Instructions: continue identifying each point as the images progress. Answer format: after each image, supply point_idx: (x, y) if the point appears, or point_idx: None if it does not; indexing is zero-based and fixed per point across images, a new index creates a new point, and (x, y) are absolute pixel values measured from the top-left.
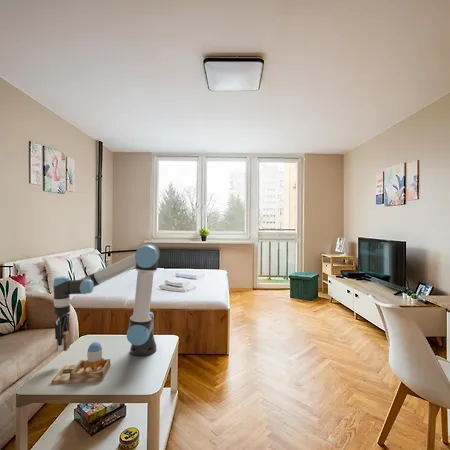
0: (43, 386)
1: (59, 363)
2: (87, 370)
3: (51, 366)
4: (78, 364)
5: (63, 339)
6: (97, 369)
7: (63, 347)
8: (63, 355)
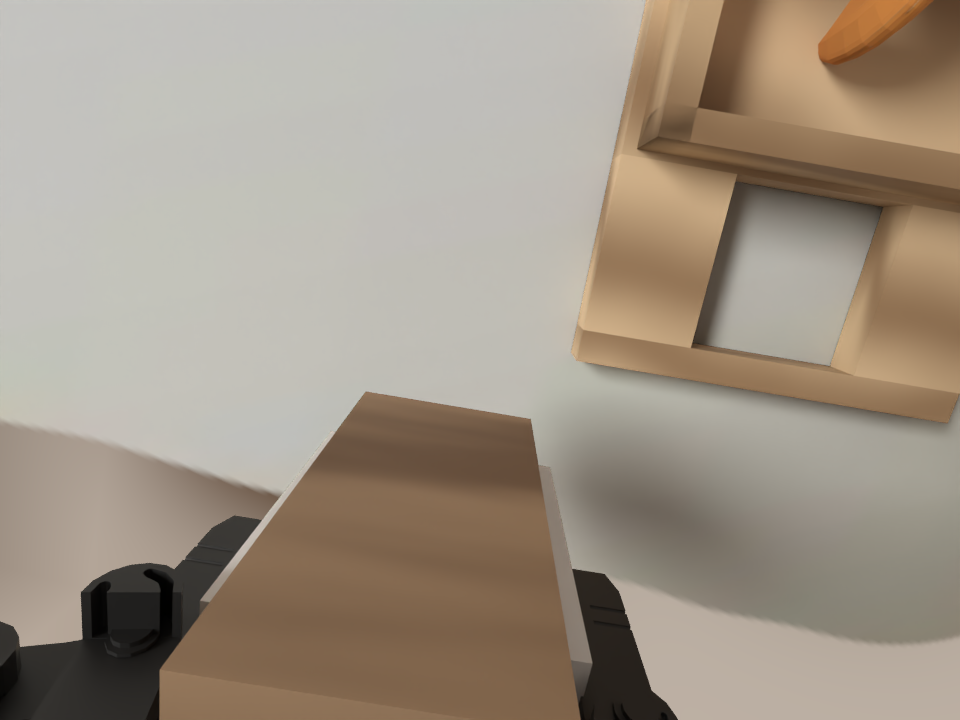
0: (937, 475)
1: None
2: None
3: None
4: (808, 143)
5: None
6: None
7: (544, 497)
8: (187, 449)
